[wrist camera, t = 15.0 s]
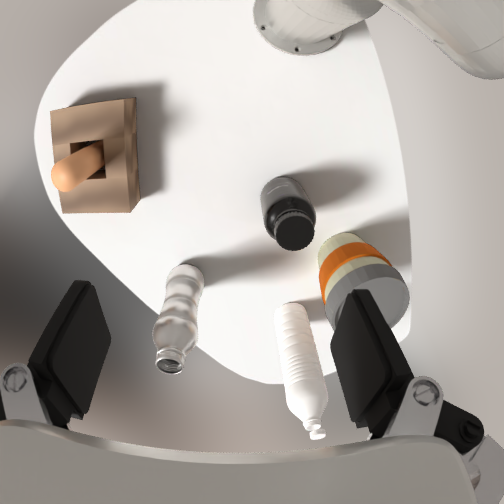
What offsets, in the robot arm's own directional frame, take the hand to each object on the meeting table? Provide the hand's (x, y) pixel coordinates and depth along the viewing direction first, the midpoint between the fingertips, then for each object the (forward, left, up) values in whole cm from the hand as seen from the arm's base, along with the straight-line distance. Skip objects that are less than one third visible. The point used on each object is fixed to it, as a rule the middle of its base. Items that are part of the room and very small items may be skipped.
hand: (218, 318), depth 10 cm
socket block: (+1, -20, -34) cm, 40 cm away
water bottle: (+33, +13, -34) cm, 49 cm away
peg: (+1, -20, -34) cm, 40 cm away
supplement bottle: (+8, +8, -34) cm, 36 cm away
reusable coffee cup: (+18, +20, -34) cm, 44 cm away
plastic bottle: (+23, -7, -34) cm, 42 cm away
